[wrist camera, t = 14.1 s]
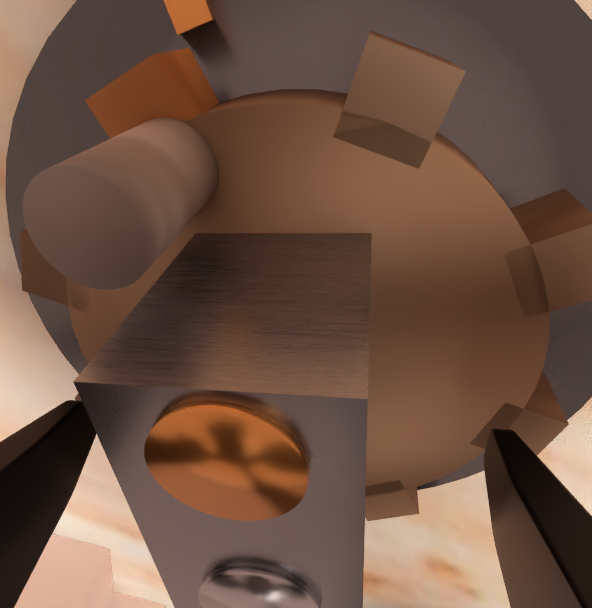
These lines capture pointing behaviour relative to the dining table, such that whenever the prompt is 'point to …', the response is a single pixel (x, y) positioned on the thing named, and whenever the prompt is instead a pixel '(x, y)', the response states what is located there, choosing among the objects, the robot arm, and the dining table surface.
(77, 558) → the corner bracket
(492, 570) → the dining table surface
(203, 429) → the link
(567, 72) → the sprocket base
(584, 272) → the sprocket
